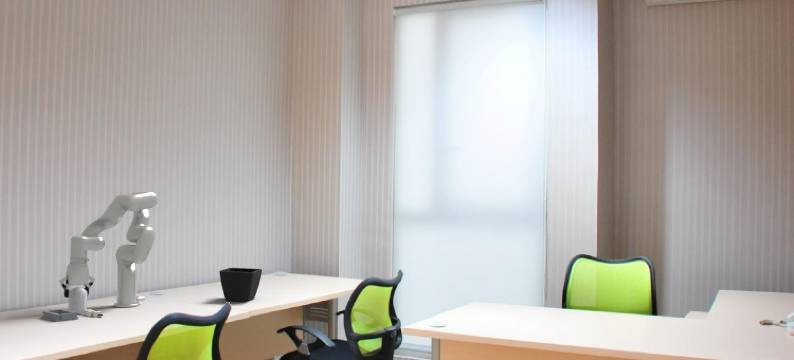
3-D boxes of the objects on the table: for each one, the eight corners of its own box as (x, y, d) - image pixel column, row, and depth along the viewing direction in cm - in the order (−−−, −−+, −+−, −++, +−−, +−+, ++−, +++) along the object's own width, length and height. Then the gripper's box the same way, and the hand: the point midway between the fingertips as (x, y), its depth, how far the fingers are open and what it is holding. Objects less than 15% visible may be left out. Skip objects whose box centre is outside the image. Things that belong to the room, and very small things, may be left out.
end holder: (62, 315, 344) (62, 308, 344) (78, 319, 334) (78, 312, 335) (41, 317, 336) (41, 311, 336) (56, 322, 327) (56, 314, 327)
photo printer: (88, 313, 351) (89, 287, 351) (80, 314, 347) (81, 288, 347) (74, 311, 356) (75, 286, 356) (66, 312, 352) (67, 287, 352)
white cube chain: (90, 313, 349) (90, 308, 349) (103, 317, 341) (103, 312, 341) (82, 314, 346) (82, 309, 346) (95, 318, 338) (95, 313, 338)
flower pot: (262, 298, 410) (262, 268, 410) (252, 303, 391) (252, 271, 391) (229, 297, 412) (230, 267, 412) (218, 302, 393) (218, 270, 393)
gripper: (91, 260, 361) (89, 294, 360) (56, 261, 347) (55, 297, 346) (99, 261, 356) (97, 296, 355) (64, 262, 342) (62, 298, 342)
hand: (76, 296), depth 351 cm, fingers open, 9 cm apart
